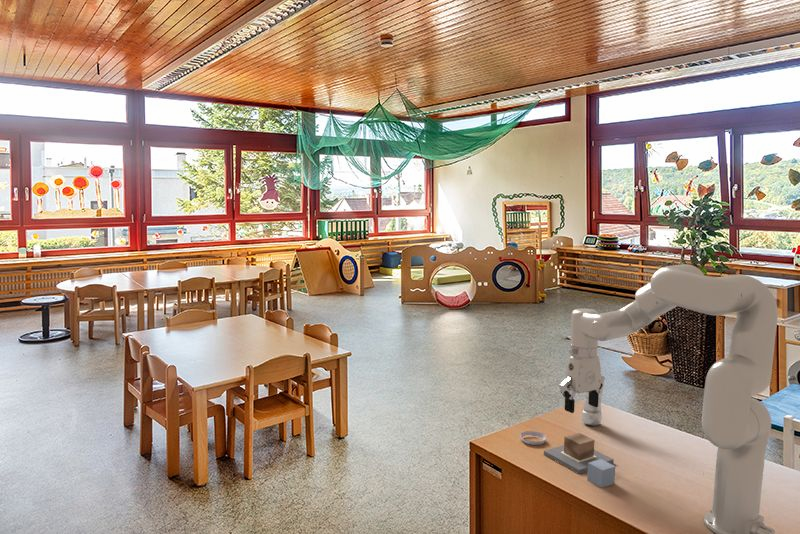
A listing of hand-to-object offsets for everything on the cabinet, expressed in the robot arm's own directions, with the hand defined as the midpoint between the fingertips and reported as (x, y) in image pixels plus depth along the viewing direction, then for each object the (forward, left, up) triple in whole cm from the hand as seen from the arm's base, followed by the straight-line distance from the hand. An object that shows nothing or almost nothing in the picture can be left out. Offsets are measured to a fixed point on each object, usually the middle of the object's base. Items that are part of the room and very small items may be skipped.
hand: (581, 408), depth 172 cm
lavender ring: (+16, +3, -16) cm, 23 cm away
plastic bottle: (+17, -24, -16) cm, 34 cm away
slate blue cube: (-13, +5, -16) cm, 21 cm away
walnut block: (0, 0, -14) cm, 14 cm away
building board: (0, 0, -16) cm, 16 cm away
